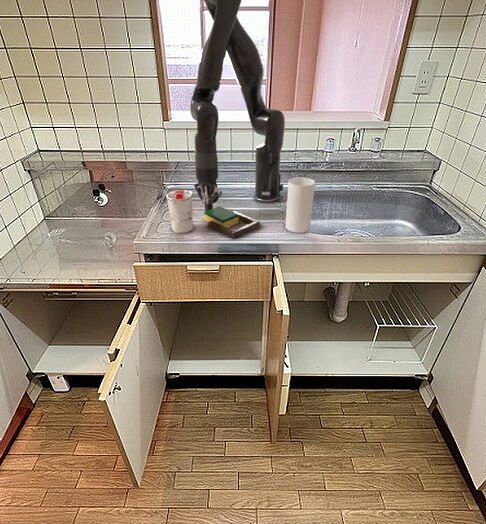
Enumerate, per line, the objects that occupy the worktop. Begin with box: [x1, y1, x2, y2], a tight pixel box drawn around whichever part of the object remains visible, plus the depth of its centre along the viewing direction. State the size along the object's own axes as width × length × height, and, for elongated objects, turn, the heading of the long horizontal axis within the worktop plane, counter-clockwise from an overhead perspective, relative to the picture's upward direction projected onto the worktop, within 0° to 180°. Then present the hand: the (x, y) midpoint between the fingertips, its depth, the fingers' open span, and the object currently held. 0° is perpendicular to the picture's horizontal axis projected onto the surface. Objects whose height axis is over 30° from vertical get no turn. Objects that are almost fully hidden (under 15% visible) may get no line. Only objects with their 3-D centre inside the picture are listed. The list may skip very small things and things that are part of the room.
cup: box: [284, 176, 316, 234], centre depth 115 cm, size 8×8×16 cm
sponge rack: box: [207, 210, 261, 240], centre depth 120 cm, size 12×12×2 cm
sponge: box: [203, 206, 239, 229], centre depth 123 cm, size 7×10×3 cm
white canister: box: [165, 189, 194, 234], centre depth 116 cm, size 10×8×12 cm
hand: (208, 212), depth 127 cm, fingers closed
